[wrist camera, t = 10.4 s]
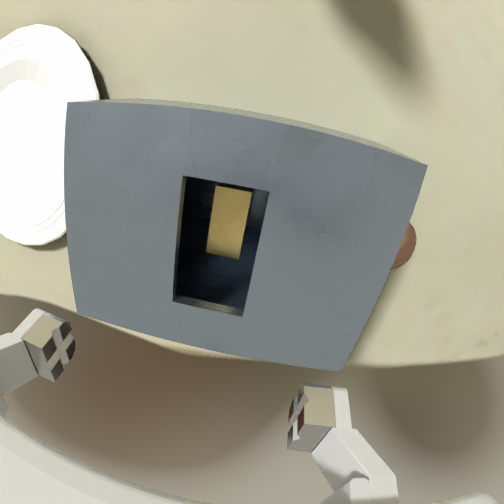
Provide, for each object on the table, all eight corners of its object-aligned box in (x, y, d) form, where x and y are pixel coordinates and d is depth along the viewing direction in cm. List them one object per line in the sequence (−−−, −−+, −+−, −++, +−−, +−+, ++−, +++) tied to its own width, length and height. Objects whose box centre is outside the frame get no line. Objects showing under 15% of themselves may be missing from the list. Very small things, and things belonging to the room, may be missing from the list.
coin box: (374, 142, 23) (427, 165, 14) (326, 294, 29) (340, 371, 20) (138, 98, 22) (67, 102, 14) (128, 253, 29) (77, 312, 20)
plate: (117, 251, 30) (109, 260, 28) (-20, 231, 31) (-28, 236, 29) (122, 1, 18) (113, -4, 17) (-29, 57, 19) (-39, 58, 18)
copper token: (418, 218, 25) (423, 223, 24) (401, 265, 28) (405, 271, 27) (370, 207, 25) (374, 211, 24) (356, 257, 28) (358, 263, 27)
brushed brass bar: (257, 176, 24) (252, 192, 20) (245, 232, 27) (238, 259, 22) (228, 170, 24) (215, 185, 20) (218, 226, 27) (205, 252, 22)
